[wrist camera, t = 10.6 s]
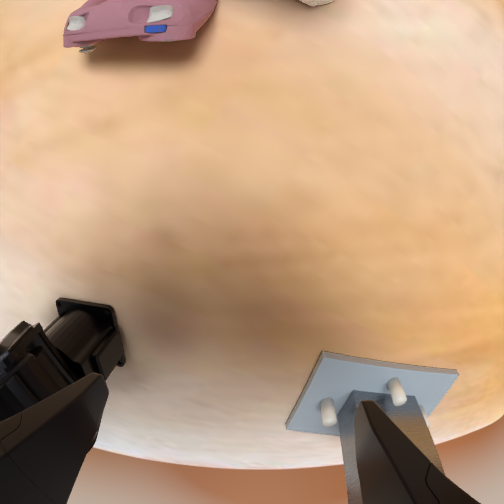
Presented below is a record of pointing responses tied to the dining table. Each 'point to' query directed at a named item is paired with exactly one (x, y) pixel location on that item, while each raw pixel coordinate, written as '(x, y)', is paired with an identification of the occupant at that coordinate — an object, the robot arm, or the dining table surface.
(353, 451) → the block
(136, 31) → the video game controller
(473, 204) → the dining table surface
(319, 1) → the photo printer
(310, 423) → the grey peg board
